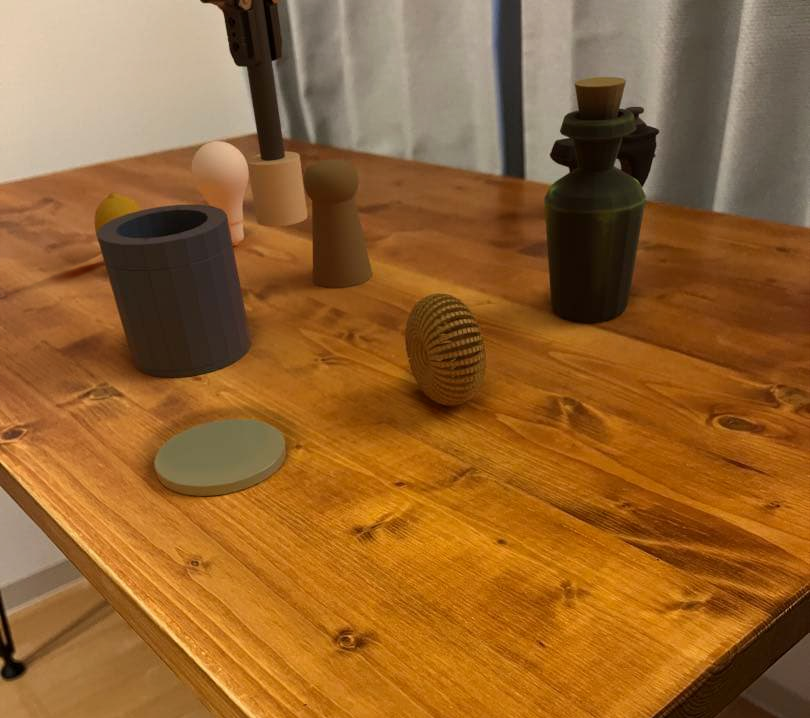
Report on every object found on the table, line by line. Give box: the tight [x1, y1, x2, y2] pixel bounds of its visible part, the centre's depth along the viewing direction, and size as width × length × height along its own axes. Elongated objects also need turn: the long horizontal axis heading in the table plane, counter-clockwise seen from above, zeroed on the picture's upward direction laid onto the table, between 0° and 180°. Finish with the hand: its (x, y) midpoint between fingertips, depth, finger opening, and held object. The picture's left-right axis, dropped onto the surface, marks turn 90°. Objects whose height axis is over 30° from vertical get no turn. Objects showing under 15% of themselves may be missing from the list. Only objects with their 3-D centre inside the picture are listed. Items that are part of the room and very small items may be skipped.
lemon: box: [94, 191, 142, 243], centre depth 93 cm, size 6×6×8 cm
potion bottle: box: [543, 76, 647, 323], centre depth 72 cm, size 8×8×18 cm
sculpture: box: [404, 292, 487, 407], centre depth 63 cm, size 8×4×8 cm, turn 24°
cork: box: [303, 158, 373, 289], centre depth 85 cm, size 6×6×11 cm
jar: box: [96, 203, 252, 378], centre depth 73 cm, size 10×10×11 cm
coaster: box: [153, 418, 288, 497], centre depth 60 cm, size 9×9×1 cm
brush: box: [246, 0, 309, 228], centre depth 71 cm, size 4×4×17 cm
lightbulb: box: [190, 140, 250, 247], centre depth 96 cm, size 6×6×11 cm
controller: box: [549, 106, 660, 188], centre depth 97 cm, size 4×12×10 cm, turn 110°
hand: (258, 61), depth 69 cm, fingers closed on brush, 2 cm apart
